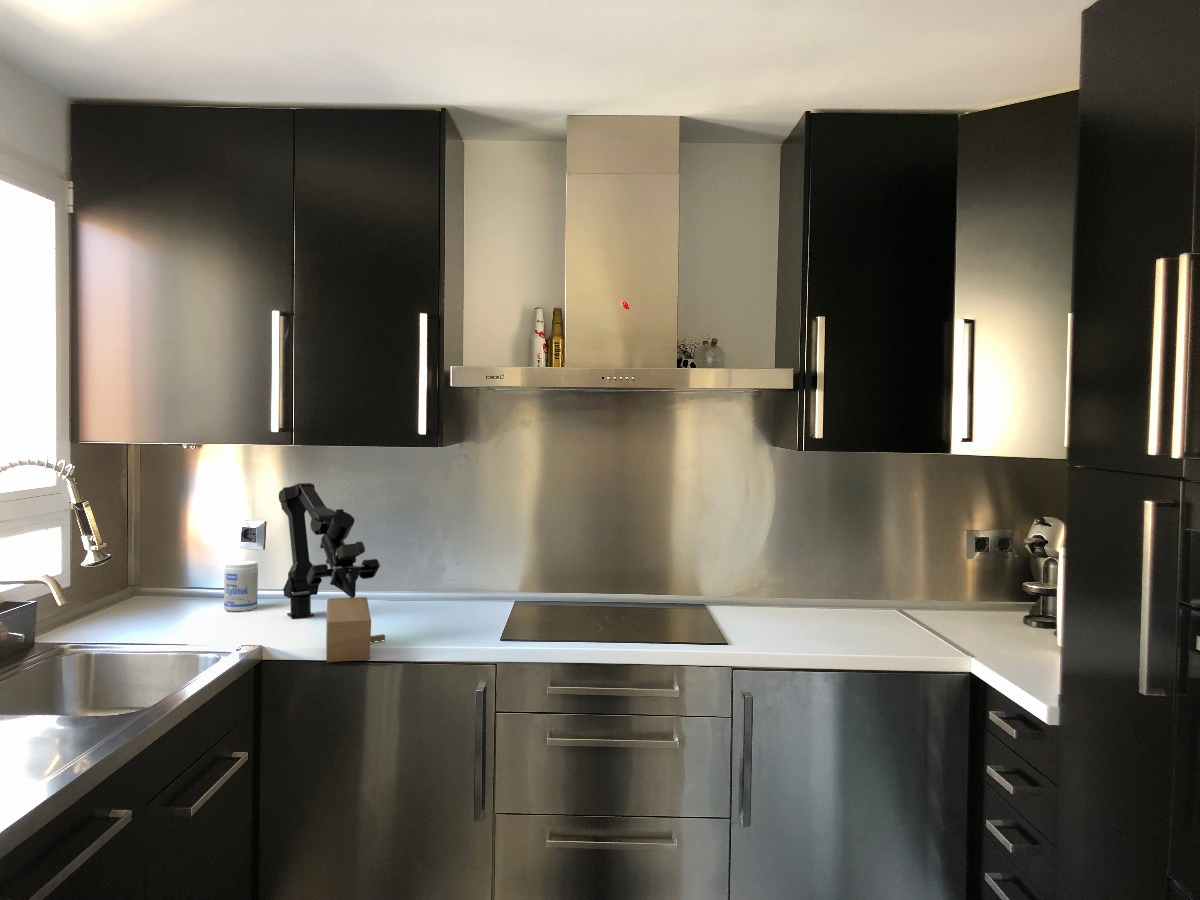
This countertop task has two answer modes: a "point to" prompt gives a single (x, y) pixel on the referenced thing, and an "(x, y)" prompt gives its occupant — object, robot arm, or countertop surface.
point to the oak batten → (377, 638)
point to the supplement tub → (241, 585)
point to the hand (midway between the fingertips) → (353, 596)
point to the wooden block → (348, 629)
